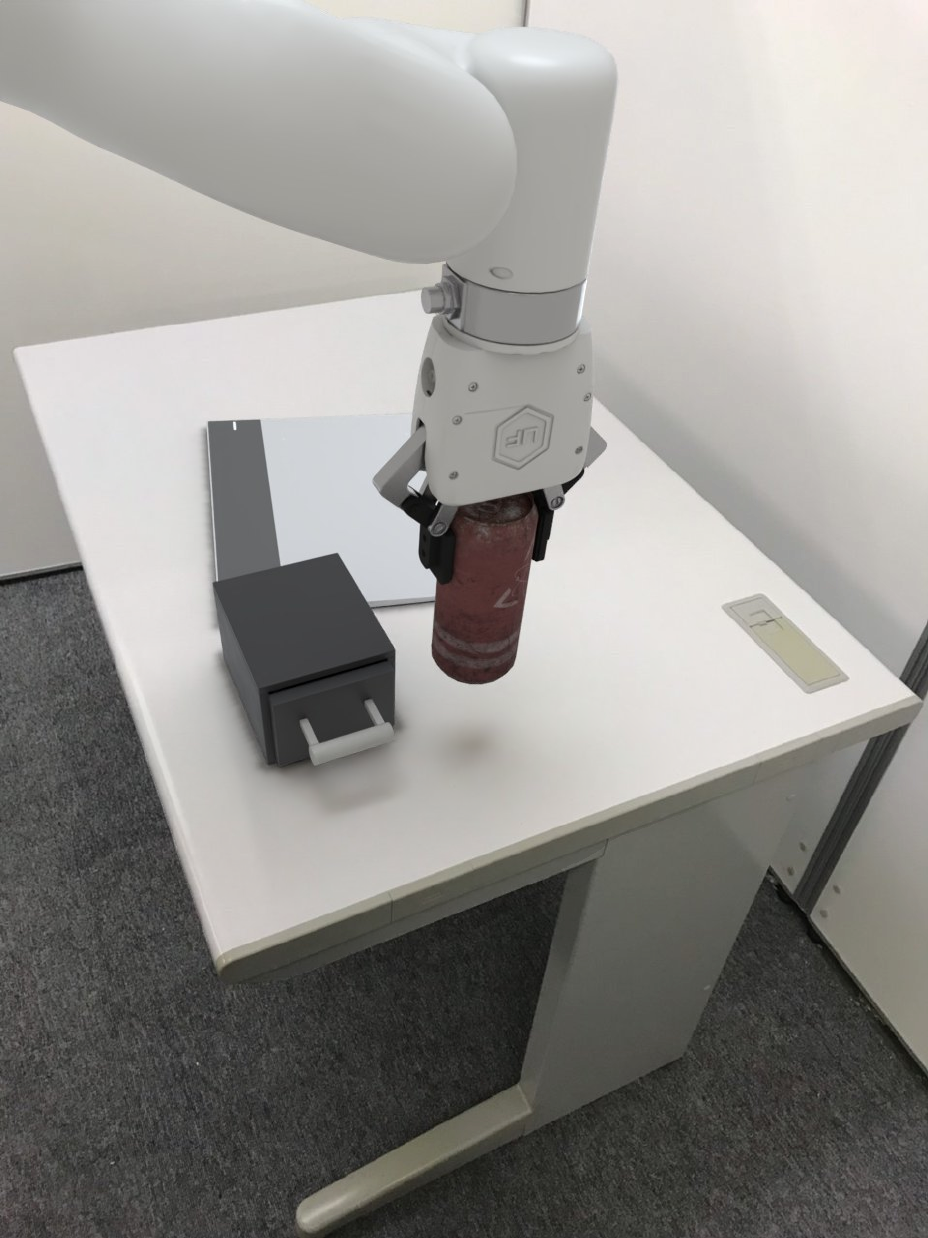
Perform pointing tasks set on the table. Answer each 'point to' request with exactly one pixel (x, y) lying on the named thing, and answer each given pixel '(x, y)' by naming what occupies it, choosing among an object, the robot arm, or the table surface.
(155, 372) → the table surface
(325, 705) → the drawer
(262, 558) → the white grey flat panel
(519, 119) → the robot arm
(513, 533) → the can
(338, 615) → the dark grey cabinet
